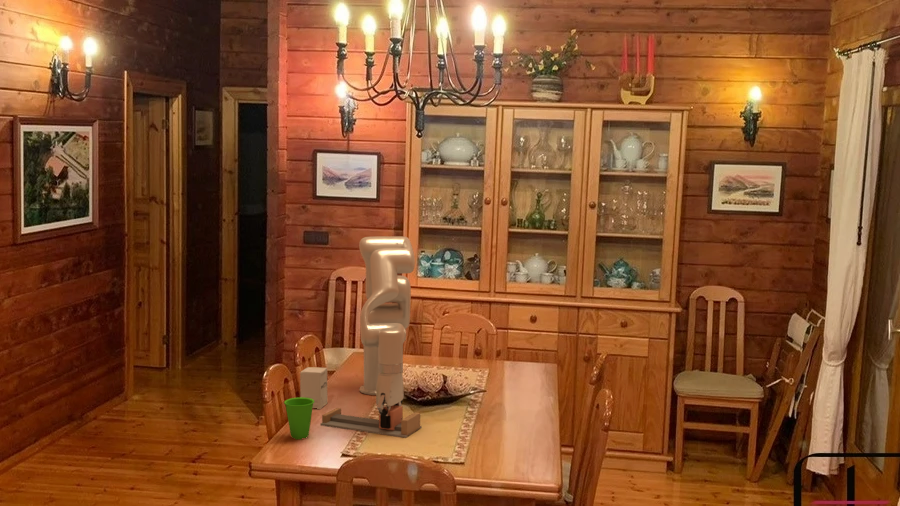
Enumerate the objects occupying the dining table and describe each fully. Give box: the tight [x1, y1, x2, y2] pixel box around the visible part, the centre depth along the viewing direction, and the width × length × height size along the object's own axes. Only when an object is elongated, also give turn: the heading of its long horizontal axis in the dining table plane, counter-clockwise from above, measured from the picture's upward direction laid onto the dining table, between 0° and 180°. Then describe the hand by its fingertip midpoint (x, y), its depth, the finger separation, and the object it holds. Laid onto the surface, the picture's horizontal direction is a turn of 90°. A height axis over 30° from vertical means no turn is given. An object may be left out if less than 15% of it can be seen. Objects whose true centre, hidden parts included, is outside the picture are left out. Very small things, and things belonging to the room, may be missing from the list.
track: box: [320, 407, 422, 439], centre depth 285 cm, size 11×30×5 cm, turn 66°
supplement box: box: [299, 366, 328, 410], centre depth 307 cm, size 7×7×13 cm
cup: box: [283, 396, 315, 440], centre depth 275 cm, size 9×9×11 cm
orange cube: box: [378, 405, 404, 430], centre depth 282 cm, size 6×5×6 cm
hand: (390, 424), depth 283 cm, fingers closed on orange cube, 6 cm apart
